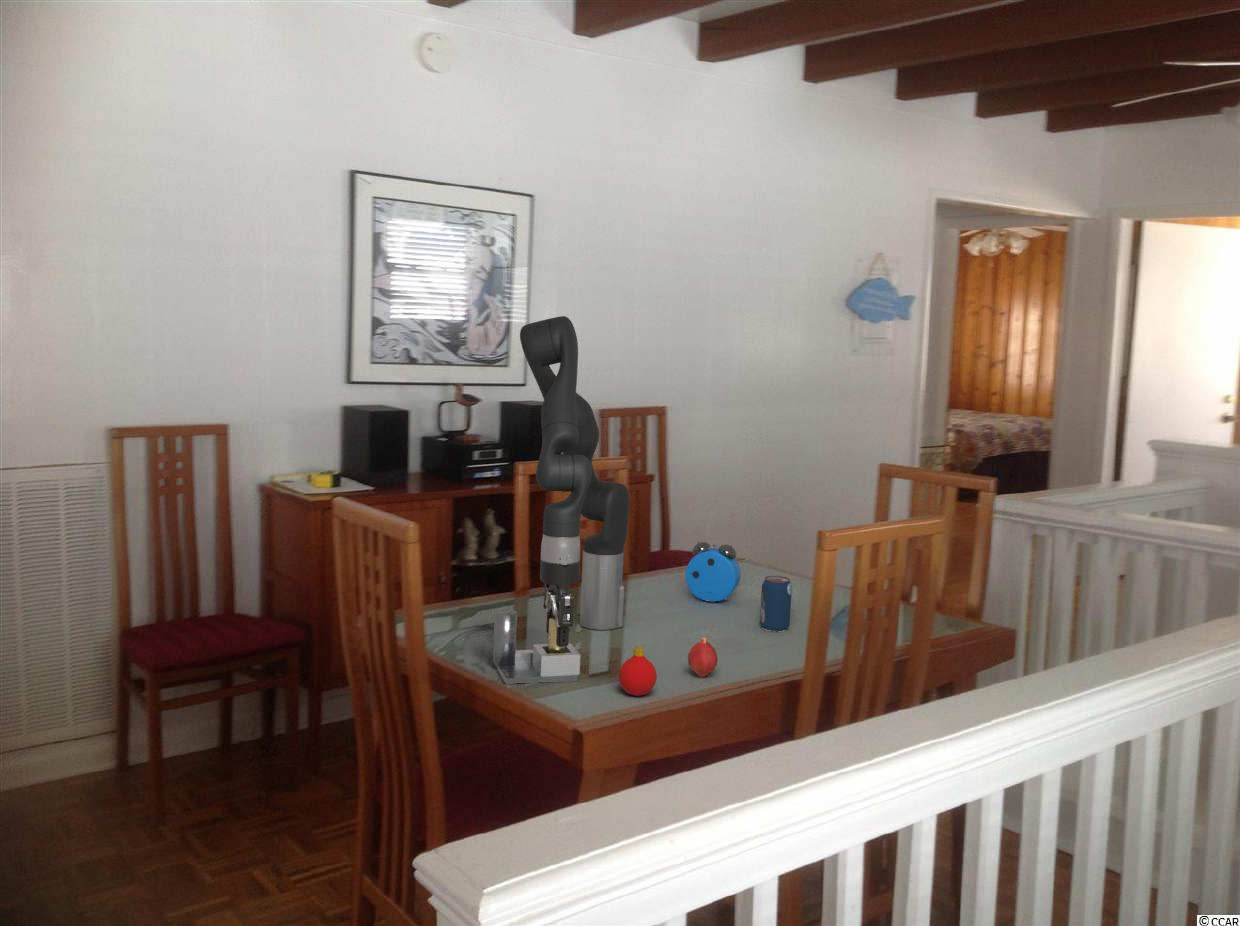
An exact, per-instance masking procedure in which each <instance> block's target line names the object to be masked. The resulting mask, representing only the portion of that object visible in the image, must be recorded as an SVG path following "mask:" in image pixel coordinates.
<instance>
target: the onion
mask: <svg viewBox="0 0 1240 926" xmlns="http://www.w3.org/2000/svg"><path fill="white" fill-rule="evenodd" d="M689 650H690V651H689V652H688V655H687V661H688V662H687V663H688V665H689V667H690V669H691V670H692V671H693V672H694V673H695V674H696V675H697V676H699V678H705V677H706V676H707V675H709V674H710V673H712V672H713V671H714V670H715V669H716V667H717V665H718V661H719V660H718V654H717V650H715V647H714V646H713V645H712V644H711V643H709V642H708V640H707V638H705V637H702V638H701V639H700V641H699V642H697V643H695V644H694V645H693V646H692V647H691V648H690V649H689Z"/></svg>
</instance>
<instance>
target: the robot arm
mask: <svg viewBox="0 0 1240 926" xmlns="http://www.w3.org/2000/svg"><path fill="white" fill-rule="evenodd" d="M519 338H520V339H519V341H520V345H521V349H522V351H523V355H524V357H525V359H526V361H527V364H528V366H529V369H530V370H531V374H532V375H533V377H534V380H535V382H536V384H537V386H538V388H539V391H540V393H541V397H542V398H543V402H542V404H541V408H540V409H541V410H540V420H541V421H540V422H541V423H540V424H541V425H540V426H541V435H542V437H541V438H542V441H541V450H540V455H539V459H538V462H537V466H536V470H535V479H536V482H537V485H538V486H539V487H540V488H541V489H542V490H543V491H547V492H570V493H569V495H568V497H566V499H564V500H560V501H557V502H551V503H549V504H547V505H546V506H545V507H544V508H543V509H544V510H543V523H542V524H543V525H542V526H543V528H542V539H541V544H540V545H541V546H540V569H539V581H541V582H542V583H543V584H544V596H543V609H544V610H545V611H544V612H545V614H546V626H545V628H546V629H545V632H546V633H547V634H548V635H549V619H550V618H552V617H556V625H557V635H556V645H557V646H558V647H566V646H568V643H569V636H570V635H569V633H570V628H571V627H574V611H575V610H574V605H575V604H574V603H575V597H574V595H573V594H572V593H571V592H570V589H569V587H570V586H572V585H575V584H578V583H579V581H580V568H581V567H582V568H581V569H582V570H581V585H580V586H581V589H580V590H581V591H580V593H581V594H580V608H579V609H580V613H579V625H580V626H581V627H583V628H585V629H589V630H598V631H599V630H600V631H605V630H606V631H607V630H613V629H614V630H615V629H618V628H623V627H624V626H623V625H624V623H623V622H624V606H625V585H623V571H624V569H623V568H624V567H623V566H624V550H625V549H624V548H625V544H626V539H627V535H628V526H629V518H630V517H629V515H630V505H631V501H630V500H631V499H630V493H629V490H628V487H627V486H626V485H625V484H623V483H620V482H615V481H609V480H608V481H607V480H602V479H601V480H600V479H599V478H598V477H597V475H596V473H595V469H594V466H593V458H594V456H595V452H596V449H597V447H598V443H599V441H600V440H599V439H600V430H599V426H598V423H597V420H596V417H595V413H594V411H593V408H592V407H591V405H590V403H589V402H588V401H587V400H586V399H585V398H584V397H582V396H581V394H579V393H578V392H577V385H578V382H577V381H578V367H579V366H578V362H579V342H578V336H577V332H576V329H575V327H574V324H573V322H572V320H571V319H570V318H569V317H568V316H565V315H562V316H556V317H551V318H546V319H543V320H538V321H534V322H530V323H527V324H524V325H523V326H522V327H521V328H520V332H519ZM557 364H559V369H558V371H557V374H555V373H554V371H553V369H552V368H551V366H550V365H557ZM560 453H561V454H560ZM581 517H584V519H587V520H591V521H597V522H602V528H601V532H600V531H599V533H596V534H592V535H589V536H586V537H585V538H584V540H583V543H582V544H583V545H582V566H581V565H580V564H581V563H580V562H581V540H580V537H581V536H580V534H581V533H580V531H581V530H580V529H581ZM580 566H581V567H580ZM564 617H565V619H566V620H563V618H564Z"/></svg>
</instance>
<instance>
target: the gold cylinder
mask: <svg viewBox="0 0 1240 926" xmlns="http://www.w3.org/2000/svg"><path fill="white" fill-rule="evenodd" d="M563 620H566V617H565V618H564V617H563ZM556 635H557V625H556V617H552V618H550V619H549V634H548V640H547V642H548V643H547V644H548V654H552V653H564V650H565V647H558V646H557V645H556Z"/></svg>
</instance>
